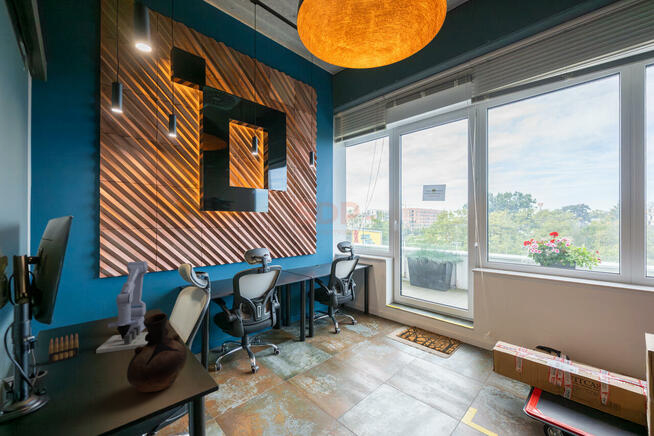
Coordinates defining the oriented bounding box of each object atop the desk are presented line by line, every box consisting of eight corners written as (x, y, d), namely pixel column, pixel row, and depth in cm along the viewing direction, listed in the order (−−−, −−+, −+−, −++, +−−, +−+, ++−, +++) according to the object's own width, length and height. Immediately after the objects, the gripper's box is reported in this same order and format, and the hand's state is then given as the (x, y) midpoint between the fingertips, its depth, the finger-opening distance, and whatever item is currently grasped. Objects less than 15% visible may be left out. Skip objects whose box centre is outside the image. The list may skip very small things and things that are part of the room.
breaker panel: (113, 339, 153) (113, 335, 153) (155, 334, 160) (155, 330, 160) (96, 353, 136) (96, 349, 136) (144, 347, 142) (144, 343, 143)
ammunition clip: (48, 364, 125) (48, 339, 126) (48, 363, 127) (48, 338, 127) (78, 356, 133) (79, 333, 133) (78, 355, 134) (79, 332, 134)
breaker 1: (126, 342, 144) (126, 334, 144) (131, 341, 145) (131, 333, 145) (124, 344, 141) (124, 336, 141) (129, 343, 142) (129, 335, 142)
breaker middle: (131, 337, 150) (131, 329, 150) (136, 337, 150) (136, 329, 150) (129, 339, 147) (129, 332, 147) (134, 339, 147) (134, 331, 148)
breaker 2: (135, 333, 155) (135, 326, 155) (140, 333, 156) (140, 325, 156) (133, 335, 152) (133, 328, 153) (138, 335, 153) (138, 327, 153)
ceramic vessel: (181, 369, 121) (182, 304, 122) (191, 386, 108) (192, 314, 108) (124, 388, 107) (126, 315, 108) (128, 411, 94) (129, 327, 95)
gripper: (105, 318, 142) (105, 343, 141) (136, 315, 146) (136, 339, 146) (111, 314, 148) (111, 338, 148) (141, 311, 153) (141, 334, 152)
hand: (124, 338), depth 147 cm, fingers closed
